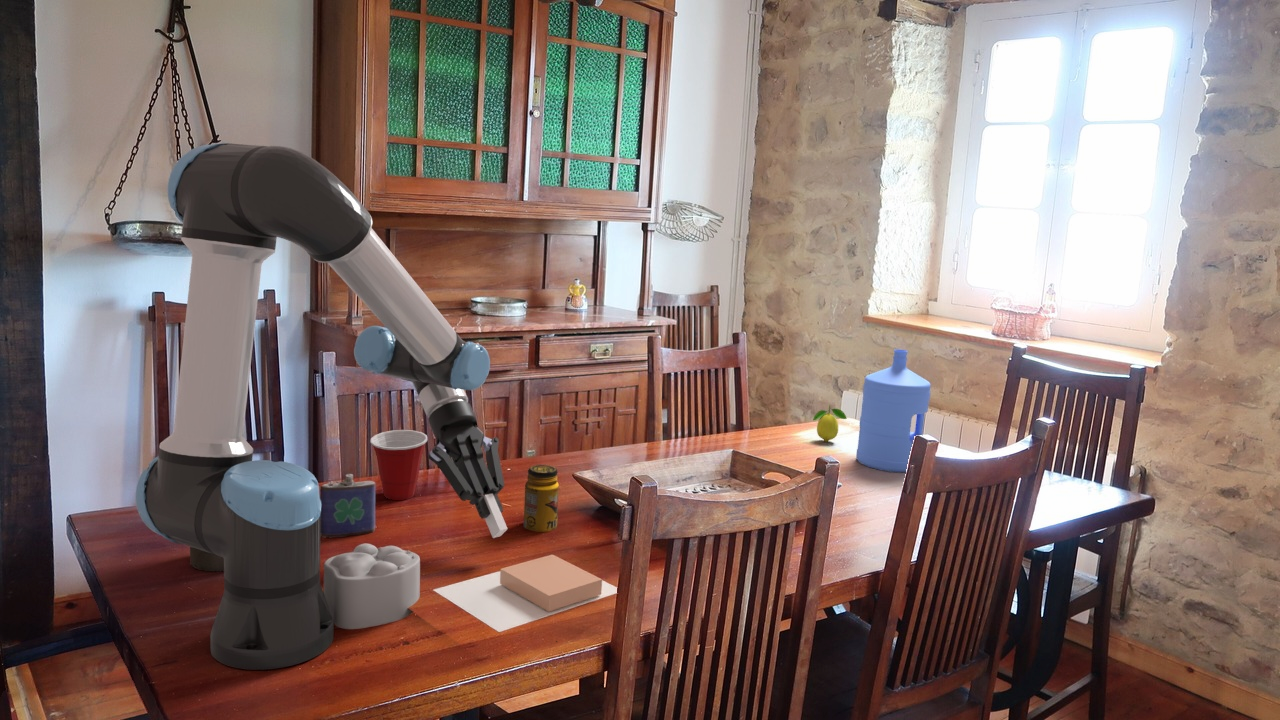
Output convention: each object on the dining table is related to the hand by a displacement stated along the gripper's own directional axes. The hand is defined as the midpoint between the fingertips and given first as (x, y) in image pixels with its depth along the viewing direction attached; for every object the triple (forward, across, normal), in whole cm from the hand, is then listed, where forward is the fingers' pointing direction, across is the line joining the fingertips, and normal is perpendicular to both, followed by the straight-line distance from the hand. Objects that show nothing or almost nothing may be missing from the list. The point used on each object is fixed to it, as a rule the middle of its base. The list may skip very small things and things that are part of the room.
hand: (500, 533), depth 152 cm
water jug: (+4, -114, -5) cm, 114 cm away
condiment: (-2, -14, -11) cm, 19 cm away
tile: (+8, 0, +3) cm, 8 cm away
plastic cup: (-24, -4, -33) cm, 41 cm away
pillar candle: (-15, +34, -24) cm, 44 cm away
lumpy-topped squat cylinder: (+6, +23, -3) cm, 24 cm away
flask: (-15, +13, -24) cm, 31 cm away
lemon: (-11, -117, -20) cm, 119 cm away
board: (+13, +3, +4) cm, 14 cm away
